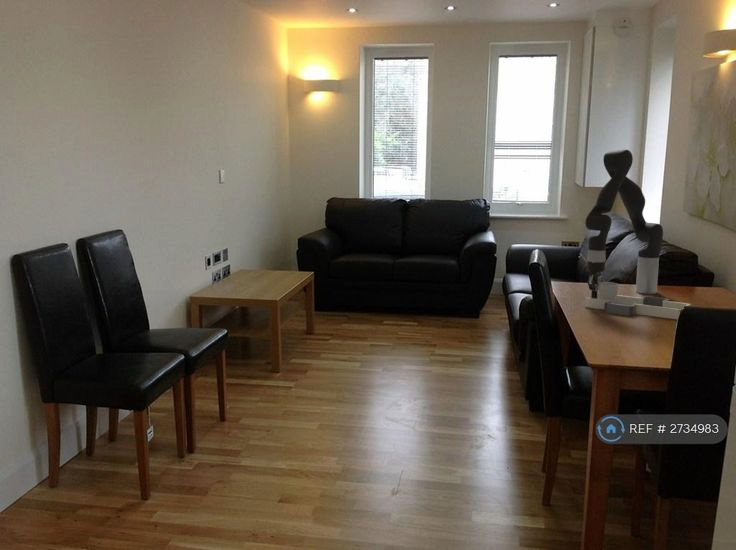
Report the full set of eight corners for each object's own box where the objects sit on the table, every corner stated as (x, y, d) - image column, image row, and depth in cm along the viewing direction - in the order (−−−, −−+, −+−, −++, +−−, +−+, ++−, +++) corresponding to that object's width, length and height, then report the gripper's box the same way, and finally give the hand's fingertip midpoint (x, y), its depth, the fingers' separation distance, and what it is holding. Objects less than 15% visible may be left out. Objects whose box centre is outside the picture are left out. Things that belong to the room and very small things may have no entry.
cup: (616, 304, 283) (618, 282, 281) (617, 308, 276) (618, 285, 274) (597, 303, 286) (598, 281, 284) (597, 307, 278) (598, 284, 276)
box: (600, 299, 294) (601, 290, 294) (693, 310, 271) (693, 301, 270) (580, 309, 275) (581, 300, 275) (678, 322, 252) (679, 312, 251)
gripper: (593, 257, 288) (591, 295, 291) (582, 261, 278) (580, 300, 281) (610, 259, 284) (607, 297, 287) (599, 262, 273) (597, 302, 277)
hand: (594, 298), depth 284 cm, fingers closed
